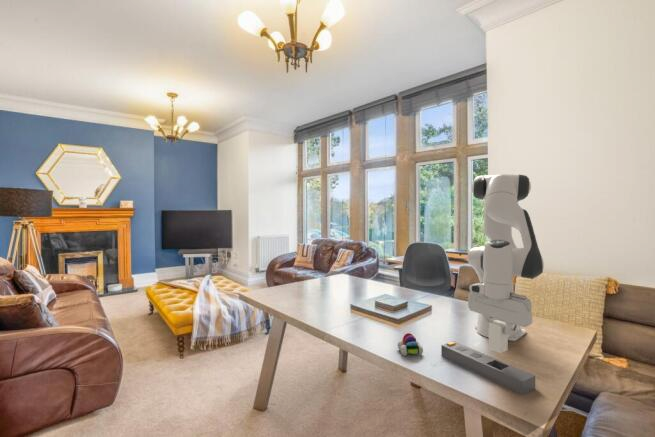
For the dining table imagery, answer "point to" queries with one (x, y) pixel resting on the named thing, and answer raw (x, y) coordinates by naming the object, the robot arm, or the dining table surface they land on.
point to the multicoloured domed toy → (409, 345)
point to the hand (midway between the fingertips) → (498, 331)
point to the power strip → (489, 367)
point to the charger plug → (497, 336)
